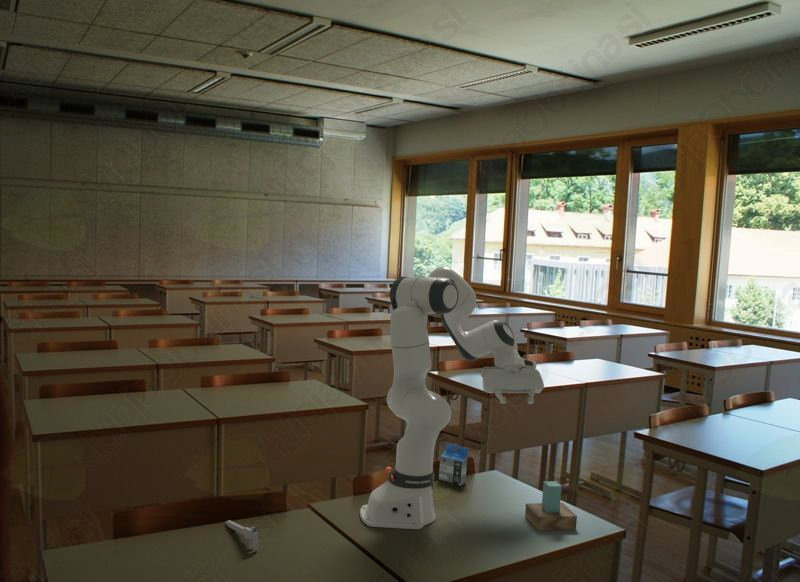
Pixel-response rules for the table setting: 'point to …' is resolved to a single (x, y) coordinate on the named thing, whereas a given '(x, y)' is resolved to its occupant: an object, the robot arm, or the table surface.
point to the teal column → (551, 496)
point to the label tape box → (453, 465)
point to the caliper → (246, 534)
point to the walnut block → (550, 517)
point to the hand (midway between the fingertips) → (517, 402)
